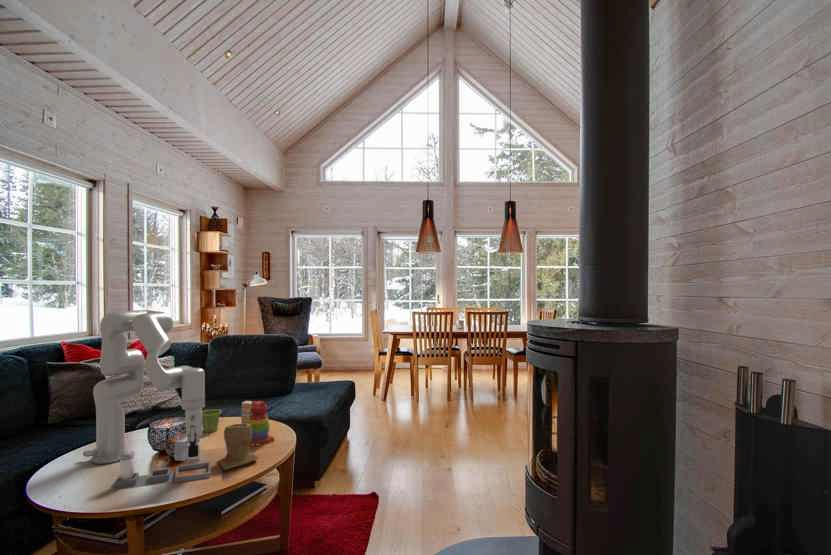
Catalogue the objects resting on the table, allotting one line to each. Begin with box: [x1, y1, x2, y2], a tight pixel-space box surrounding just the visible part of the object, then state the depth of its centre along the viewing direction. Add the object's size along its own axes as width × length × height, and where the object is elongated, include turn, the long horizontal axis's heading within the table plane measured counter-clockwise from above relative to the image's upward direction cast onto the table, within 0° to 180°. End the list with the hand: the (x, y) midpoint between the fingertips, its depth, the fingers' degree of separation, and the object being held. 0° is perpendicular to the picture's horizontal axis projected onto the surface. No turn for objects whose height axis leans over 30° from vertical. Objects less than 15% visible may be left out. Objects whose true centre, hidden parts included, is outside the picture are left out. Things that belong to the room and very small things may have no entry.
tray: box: [173, 461, 212, 483], centre depth 169 cm, size 11×11×3 cm
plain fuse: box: [119, 451, 135, 481], centre depth 162 cm, size 4×4×10 cm
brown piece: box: [217, 423, 259, 471], centre depth 182 cm, size 15×12×15 cm
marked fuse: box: [187, 435, 201, 465], centre depth 169 cm, size 4×4×10 cm
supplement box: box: [240, 400, 257, 424], centre depth 224 cm, size 8×5×13 cm, turn 80°
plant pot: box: [202, 409, 222, 433], centre depth 223 cm, size 9×9×9 cm
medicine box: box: [174, 436, 188, 462], centre depth 186 cm, size 8×4×9 cm, turn 168°
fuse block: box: [110, 467, 175, 492], centre depth 164 cm, size 18×10×4 cm, turn 112°
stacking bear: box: [248, 400, 275, 446], centre depth 207 cm, size 11×10×18 cm
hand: (193, 453), depth 169 cm, fingers closed on marked fuse, 4 cm apart
